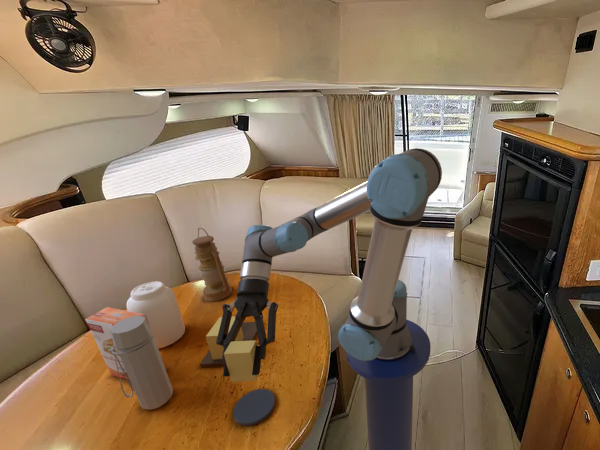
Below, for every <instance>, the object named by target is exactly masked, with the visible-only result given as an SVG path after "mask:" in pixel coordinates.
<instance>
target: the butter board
mask: <svg viewBox="0 0 600 450" xmlns="http://www.w3.org/2000/svg"><path fill="white" fill-rule="evenodd" d="M241 327H242V332H243V336H244V339H243V341H253V340H255V338H256V337H257V336H258V334H257V329H256V323H255V321H243V323H242V326H241ZM224 365H225V361H222V359H215V360H212V356H211V353H210V349H209V350H208V351H207V352H206V354H205V356H204V357H203V359H202V360H201V362H200V363H199V366H200V368H208V367H224Z"/></svg>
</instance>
